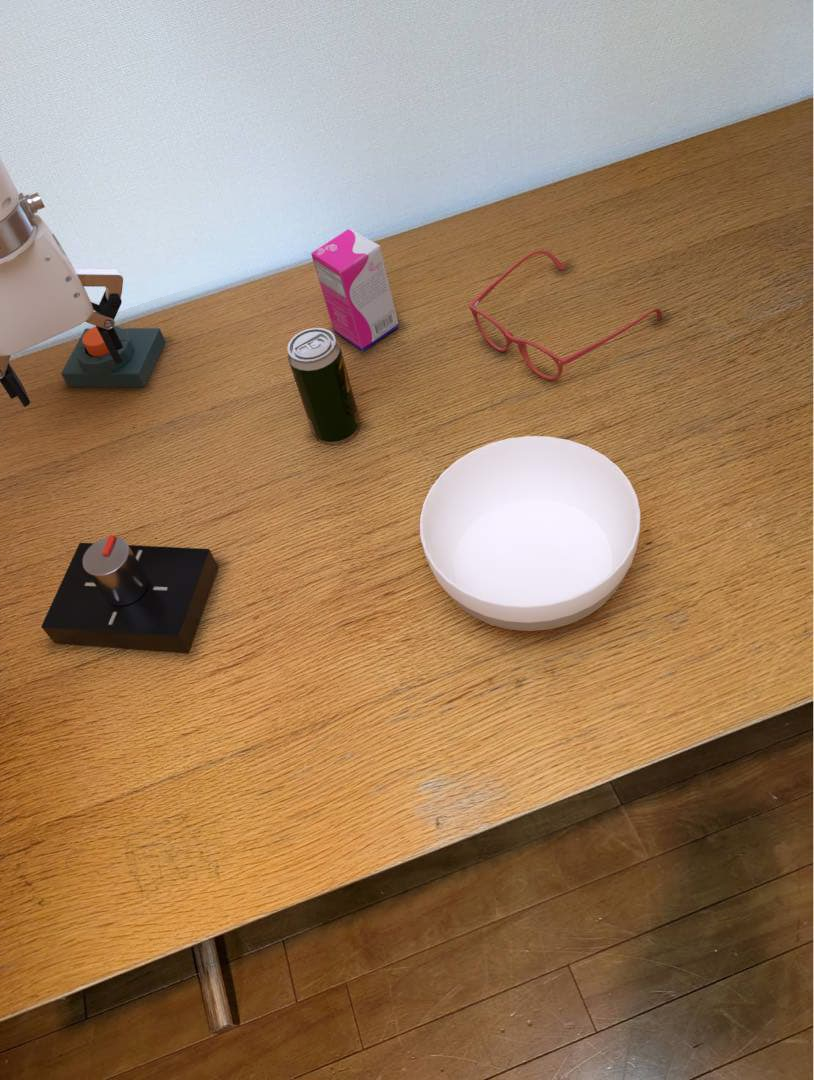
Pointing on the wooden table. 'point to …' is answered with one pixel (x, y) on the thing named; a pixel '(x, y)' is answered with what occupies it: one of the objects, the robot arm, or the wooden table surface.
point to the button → (94, 343)
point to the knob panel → (135, 603)
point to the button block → (103, 371)
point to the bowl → (530, 531)
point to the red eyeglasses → (523, 342)
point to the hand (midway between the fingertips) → (70, 376)
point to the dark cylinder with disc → (115, 571)
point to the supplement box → (356, 289)
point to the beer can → (324, 385)
